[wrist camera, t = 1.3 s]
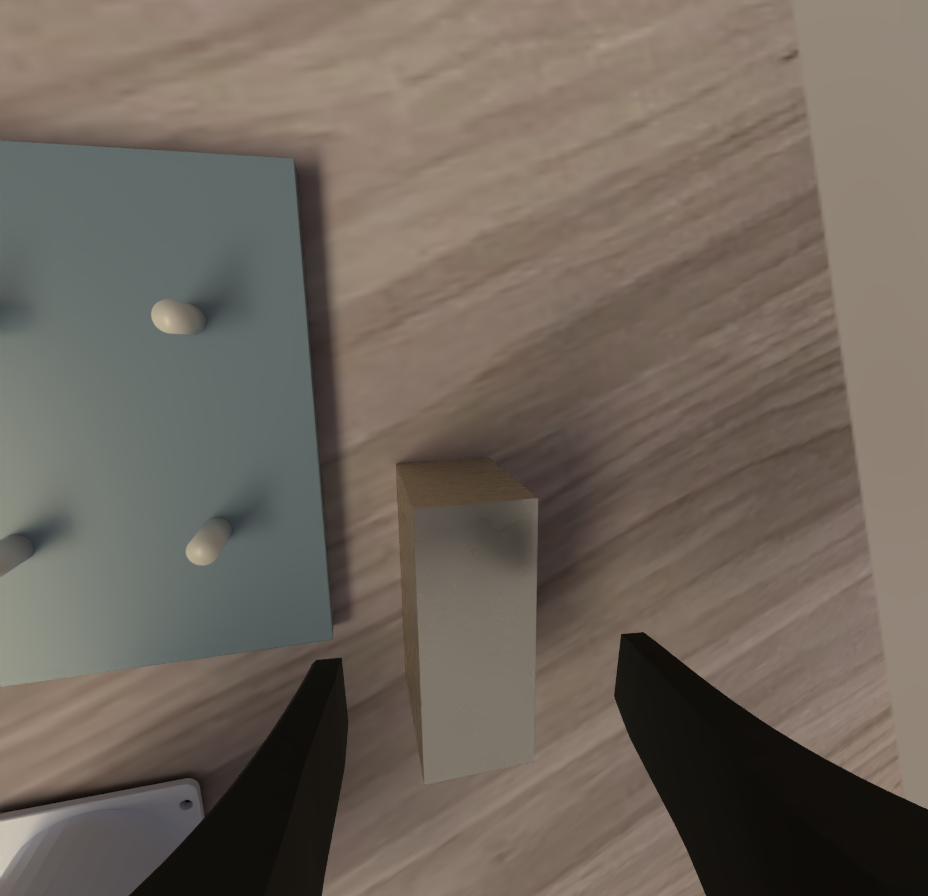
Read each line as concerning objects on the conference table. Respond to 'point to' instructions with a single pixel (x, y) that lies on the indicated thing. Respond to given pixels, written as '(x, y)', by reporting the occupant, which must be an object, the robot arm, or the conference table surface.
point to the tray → (154, 412)
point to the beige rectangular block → (468, 614)
